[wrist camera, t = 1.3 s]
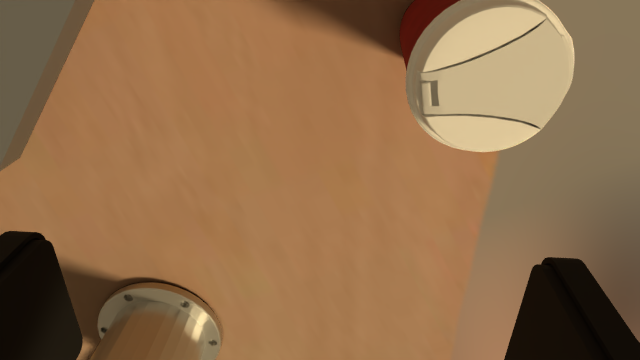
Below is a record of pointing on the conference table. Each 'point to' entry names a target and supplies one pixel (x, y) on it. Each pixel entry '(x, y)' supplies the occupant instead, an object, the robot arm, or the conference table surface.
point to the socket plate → (32, 63)
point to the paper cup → (484, 69)
